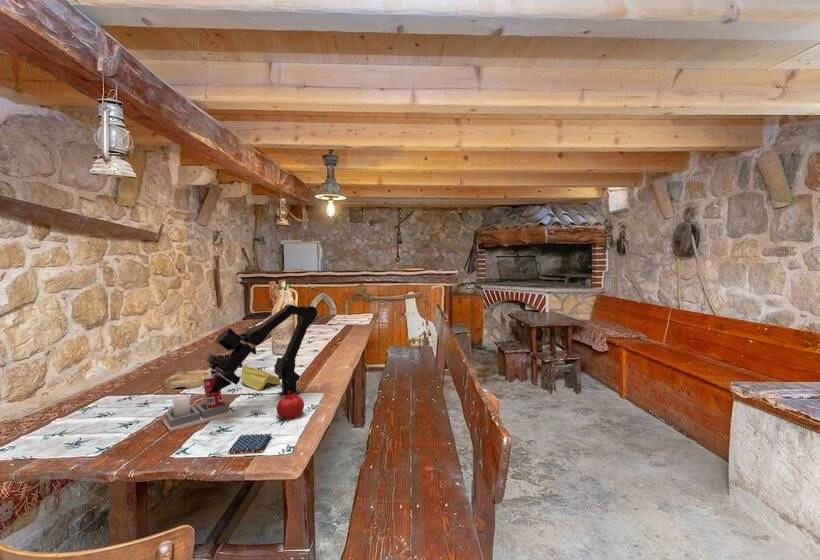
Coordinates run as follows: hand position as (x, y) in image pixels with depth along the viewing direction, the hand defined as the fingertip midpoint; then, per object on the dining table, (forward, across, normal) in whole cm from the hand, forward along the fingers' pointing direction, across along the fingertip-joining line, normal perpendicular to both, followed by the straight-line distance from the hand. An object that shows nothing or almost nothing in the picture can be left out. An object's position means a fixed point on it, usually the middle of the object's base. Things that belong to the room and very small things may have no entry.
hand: (207, 392), depth 147 cm
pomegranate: (-9, +21, +22) cm, 32 cm away
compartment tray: (+9, 0, +4) cm, 10 cm away
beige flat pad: (+2, -49, +12) cm, 50 cm away
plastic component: (-14, -23, +27) cm, 38 cm away
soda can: (+3, +1, +6) cm, 6 cm away
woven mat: (+5, +34, +8) cm, 36 cm away
